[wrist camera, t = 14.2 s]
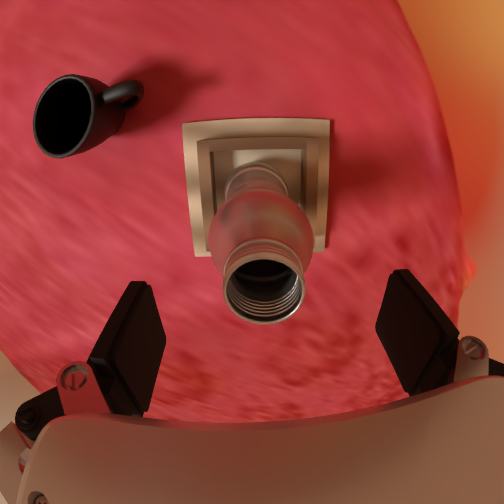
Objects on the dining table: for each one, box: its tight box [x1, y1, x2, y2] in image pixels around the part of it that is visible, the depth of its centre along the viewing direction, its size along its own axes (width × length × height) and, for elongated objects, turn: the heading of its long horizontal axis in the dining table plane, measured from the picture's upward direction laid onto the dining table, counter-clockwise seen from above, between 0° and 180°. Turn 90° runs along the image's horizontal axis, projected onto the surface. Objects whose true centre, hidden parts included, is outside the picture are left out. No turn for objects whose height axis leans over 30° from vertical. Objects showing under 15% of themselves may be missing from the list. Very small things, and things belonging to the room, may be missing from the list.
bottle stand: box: [182, 118, 330, 257], centre depth 29 cm, size 16×16×4 cm
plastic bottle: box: [208, 162, 314, 324], centre depth 21 cm, size 6×7×20 cm
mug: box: [33, 74, 144, 158], centre depth 22 cm, size 8×12×10 cm
